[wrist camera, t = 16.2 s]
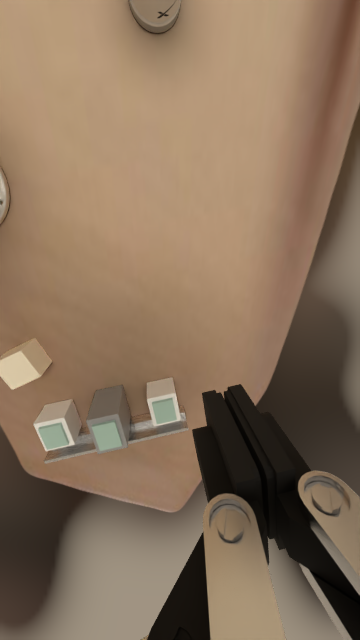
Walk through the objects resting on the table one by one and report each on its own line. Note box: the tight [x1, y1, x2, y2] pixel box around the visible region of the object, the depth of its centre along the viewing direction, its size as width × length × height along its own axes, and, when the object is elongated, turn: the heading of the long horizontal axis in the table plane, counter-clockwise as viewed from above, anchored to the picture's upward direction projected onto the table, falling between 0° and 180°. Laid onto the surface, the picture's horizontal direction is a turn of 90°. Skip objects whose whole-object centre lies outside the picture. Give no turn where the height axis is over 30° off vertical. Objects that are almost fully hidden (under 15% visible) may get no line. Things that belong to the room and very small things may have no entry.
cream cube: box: [0, 338, 52, 390], centre depth 39 cm, size 5×5×5 cm
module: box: [86, 385, 131, 454], centre depth 43 cm, size 7×5×8 cm
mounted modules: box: [33, 377, 181, 451], centre depth 44 cm, size 6×24×6 cm, turn 100°
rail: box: [44, 406, 188, 464], centre depth 46 cm, size 2×26×5 cm, turn 100°
